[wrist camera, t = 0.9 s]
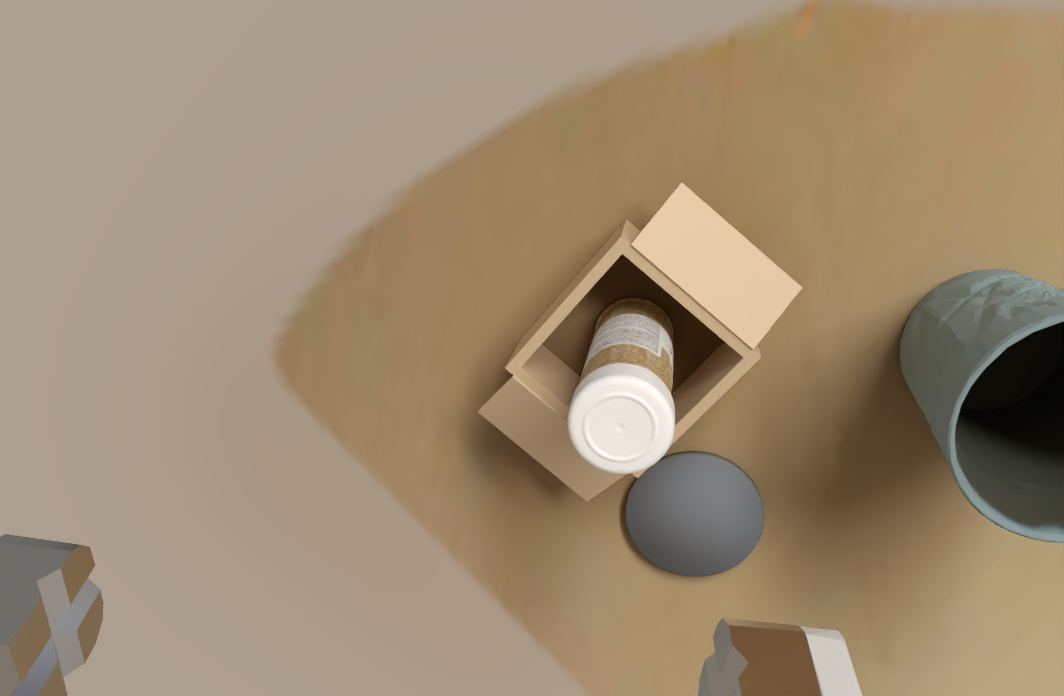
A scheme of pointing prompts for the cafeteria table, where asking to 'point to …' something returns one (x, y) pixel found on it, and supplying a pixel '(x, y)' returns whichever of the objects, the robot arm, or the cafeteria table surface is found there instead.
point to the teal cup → (995, 393)
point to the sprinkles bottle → (626, 390)
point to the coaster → (694, 514)
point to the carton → (689, 277)
